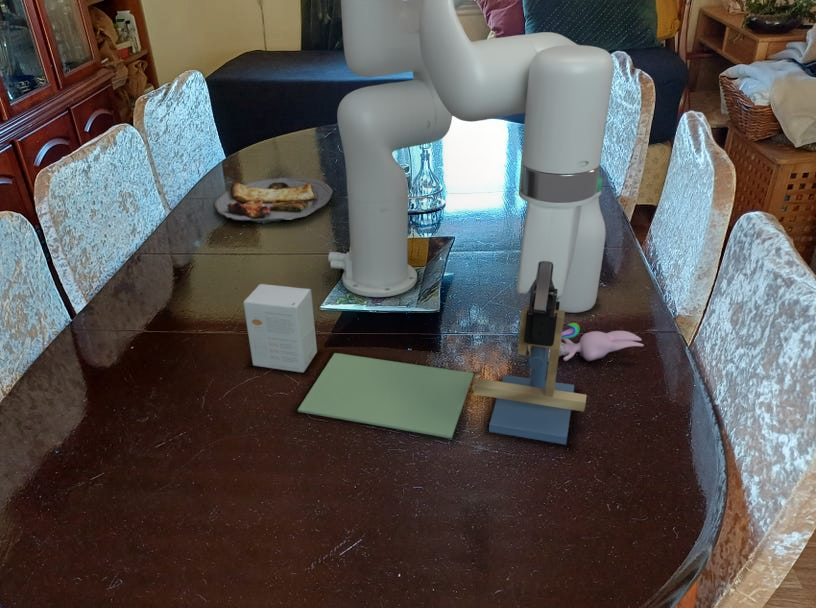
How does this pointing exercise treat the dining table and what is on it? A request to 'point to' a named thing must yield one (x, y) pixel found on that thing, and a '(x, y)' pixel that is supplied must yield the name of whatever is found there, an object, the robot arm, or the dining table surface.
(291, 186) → the food plate
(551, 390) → the hanger
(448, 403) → the mat
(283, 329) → the small box
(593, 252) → the milk bottle
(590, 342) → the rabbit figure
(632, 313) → the dining table surface
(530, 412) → the rail stand
